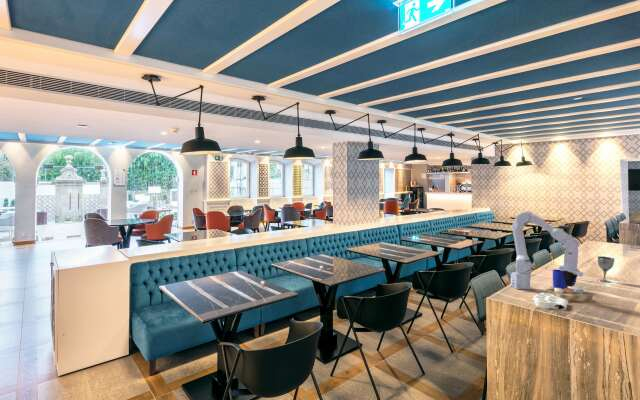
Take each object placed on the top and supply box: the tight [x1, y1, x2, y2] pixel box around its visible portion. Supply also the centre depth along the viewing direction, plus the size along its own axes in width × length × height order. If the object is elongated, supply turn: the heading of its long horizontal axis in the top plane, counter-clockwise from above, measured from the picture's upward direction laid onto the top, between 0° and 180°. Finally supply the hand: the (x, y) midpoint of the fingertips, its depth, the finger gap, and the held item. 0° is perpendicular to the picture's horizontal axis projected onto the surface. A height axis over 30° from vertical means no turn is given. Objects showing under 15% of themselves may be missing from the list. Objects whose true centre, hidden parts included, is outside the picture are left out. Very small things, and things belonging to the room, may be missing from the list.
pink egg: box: [564, 287, 574, 294], centre depth 173 cm, size 4×4×3 cm
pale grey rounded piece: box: [553, 287, 564, 293], centre depth 174 cm, size 4×4×3 cm
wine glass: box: [597, 255, 615, 284], centre depth 207 cm, size 8×8×15 cm
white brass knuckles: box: [530, 292, 569, 311], centre depth 164 cm, size 3×18×15 cm
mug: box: [552, 269, 578, 289], centre depth 189 cm, size 8×12×10 cm
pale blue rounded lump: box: [573, 287, 584, 294], centre depth 173 cm, size 4×4×3 cm
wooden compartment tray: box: [545, 288, 593, 303], centre depth 174 cm, size 17×10×3 cm, turn 90°
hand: (568, 286), depth 173 cm, fingers closed
